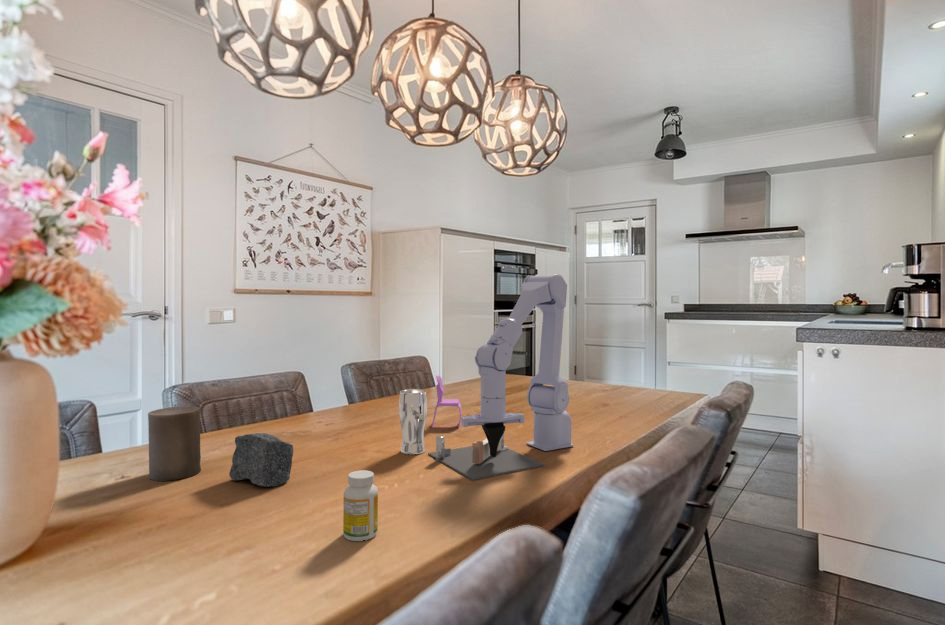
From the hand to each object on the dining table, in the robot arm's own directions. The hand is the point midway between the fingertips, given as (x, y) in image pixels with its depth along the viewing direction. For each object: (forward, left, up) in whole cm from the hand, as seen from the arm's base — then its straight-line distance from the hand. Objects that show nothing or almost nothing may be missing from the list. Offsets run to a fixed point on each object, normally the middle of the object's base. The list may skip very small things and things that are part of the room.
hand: (493, 455), depth 117 cm
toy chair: (-8, -38, -2) cm, 39 cm away
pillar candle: (+63, -28, -2) cm, 69 cm away
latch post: (+8, -9, -2) cm, 12 cm away
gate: (-1, -3, -1) cm, 4 cm away
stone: (+48, -14, -2) cm, 50 cm away
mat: (0, -3, -2) cm, 4 cm away
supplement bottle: (+38, +20, -2) cm, 43 cm away
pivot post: (-7, -8, -2) cm, 11 cm away
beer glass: (+12, -18, -2) cm, 22 cm away
